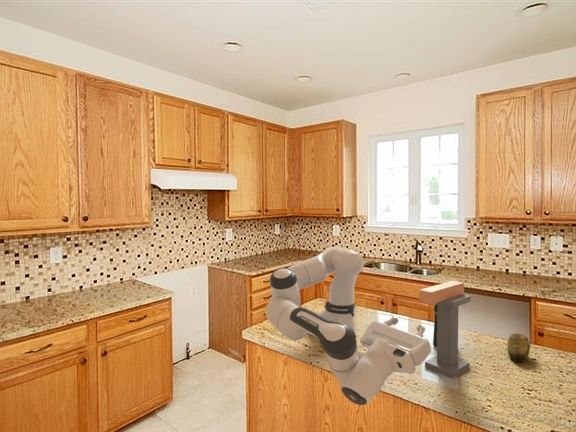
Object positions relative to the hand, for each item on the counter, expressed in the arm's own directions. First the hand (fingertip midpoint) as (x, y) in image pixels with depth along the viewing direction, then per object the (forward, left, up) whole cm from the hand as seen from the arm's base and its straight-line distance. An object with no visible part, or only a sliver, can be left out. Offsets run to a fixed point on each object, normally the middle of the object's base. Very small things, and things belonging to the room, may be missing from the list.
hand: (408, 322), depth 104 cm
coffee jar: (+14, +39, -22) cm, 47 cm away
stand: (+13, +20, -21) cm, 32 cm away
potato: (+39, +38, -22) cm, 58 cm away
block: (+11, +17, +5) cm, 21 cm away
